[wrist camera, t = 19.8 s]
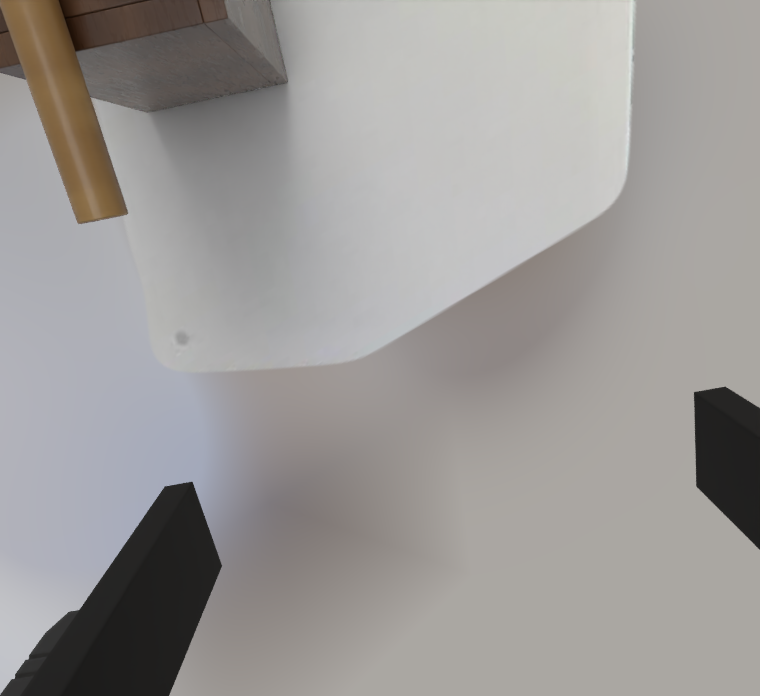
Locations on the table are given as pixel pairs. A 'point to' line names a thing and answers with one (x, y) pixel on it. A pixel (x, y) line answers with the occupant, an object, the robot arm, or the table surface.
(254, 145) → the table surface
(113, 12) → the divided box with dowel
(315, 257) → the table surface
